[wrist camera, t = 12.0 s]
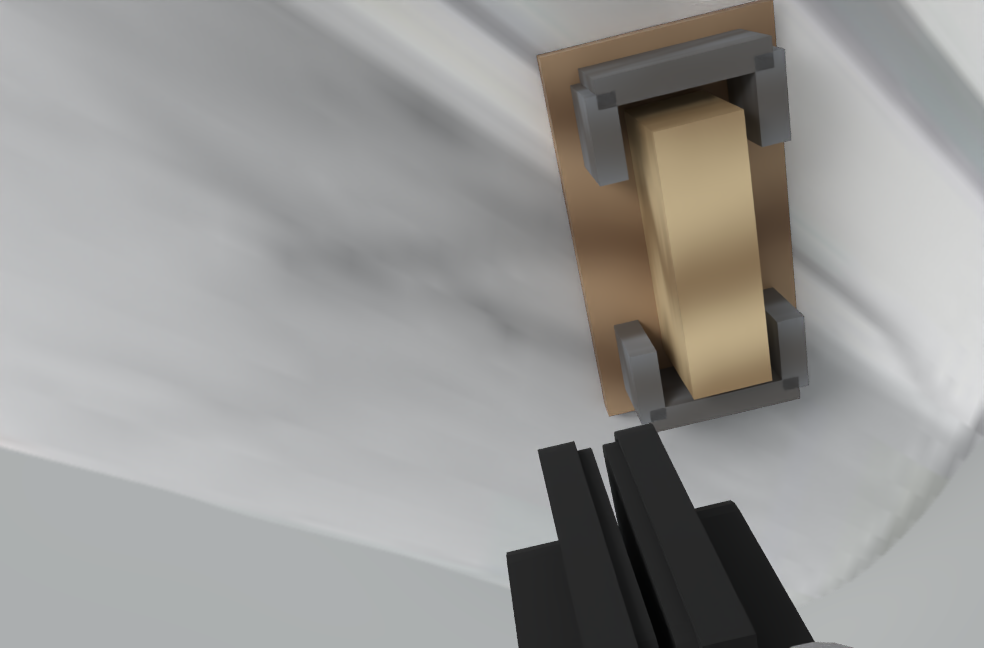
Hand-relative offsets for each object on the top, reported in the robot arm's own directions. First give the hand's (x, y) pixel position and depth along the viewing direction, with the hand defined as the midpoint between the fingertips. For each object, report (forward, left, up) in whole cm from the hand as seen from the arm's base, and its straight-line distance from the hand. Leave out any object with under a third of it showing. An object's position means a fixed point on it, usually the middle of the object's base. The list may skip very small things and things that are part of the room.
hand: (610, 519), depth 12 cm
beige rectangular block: (+6, +8, -26) cm, 28 cm away
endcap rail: (+6, +8, -27) cm, 29 cm away
